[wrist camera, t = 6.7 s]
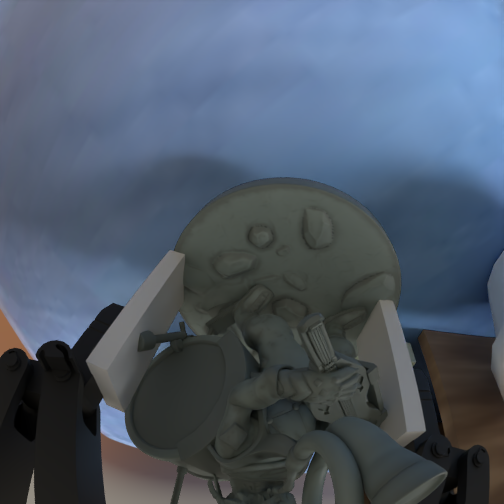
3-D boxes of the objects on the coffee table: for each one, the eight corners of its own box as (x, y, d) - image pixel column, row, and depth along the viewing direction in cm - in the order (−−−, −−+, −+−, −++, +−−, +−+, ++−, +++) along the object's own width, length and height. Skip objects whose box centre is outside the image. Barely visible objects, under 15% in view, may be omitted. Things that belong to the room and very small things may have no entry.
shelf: (423, 329, 19) (469, 552, 3) (524, 340, 18) (575, 475, 3) (344, 427, 27) (338, 565, 12) (443, 425, 27) (457, 535, 11)
